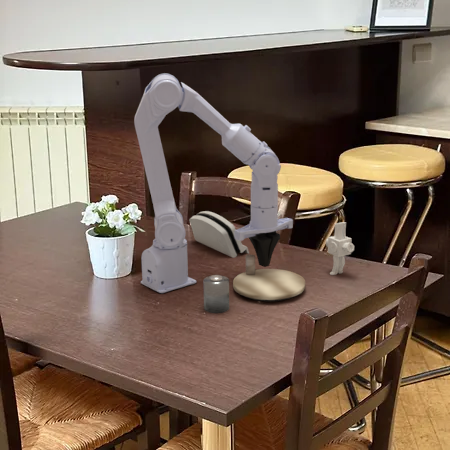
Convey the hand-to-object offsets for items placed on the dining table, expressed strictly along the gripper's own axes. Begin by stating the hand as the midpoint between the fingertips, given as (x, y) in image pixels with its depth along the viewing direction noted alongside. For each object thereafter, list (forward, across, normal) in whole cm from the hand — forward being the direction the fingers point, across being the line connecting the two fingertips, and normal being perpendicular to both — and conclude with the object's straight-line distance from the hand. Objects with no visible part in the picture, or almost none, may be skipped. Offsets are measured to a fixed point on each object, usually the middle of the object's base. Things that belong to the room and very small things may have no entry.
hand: (264, 265), depth 168 cm
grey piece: (+3, -4, -23) cm, 24 cm away
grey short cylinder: (+3, +18, +7) cm, 19 cm away
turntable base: (+3, +4, +6) cm, 8 cm away
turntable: (+3, +4, +6) cm, 8 cm away
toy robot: (+3, -14, +8) cm, 17 cm away
